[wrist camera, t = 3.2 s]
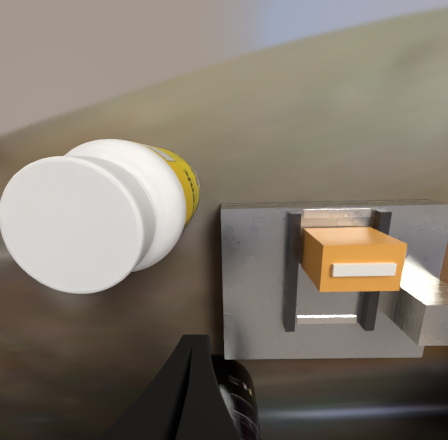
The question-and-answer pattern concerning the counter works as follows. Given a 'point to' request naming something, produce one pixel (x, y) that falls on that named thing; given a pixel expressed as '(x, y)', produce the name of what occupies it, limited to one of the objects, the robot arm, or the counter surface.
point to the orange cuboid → (352, 259)
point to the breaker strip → (330, 301)
